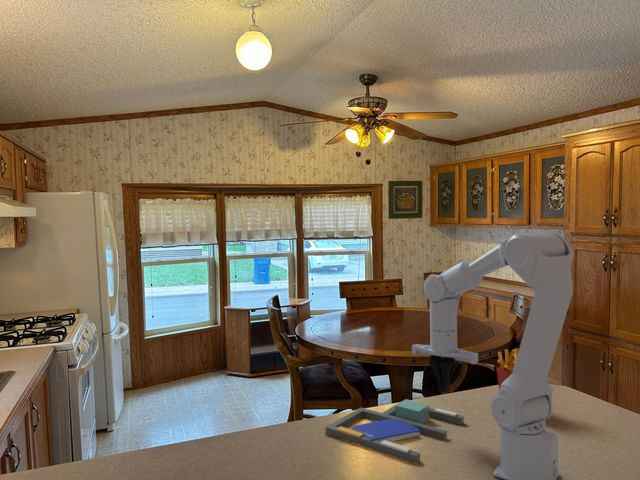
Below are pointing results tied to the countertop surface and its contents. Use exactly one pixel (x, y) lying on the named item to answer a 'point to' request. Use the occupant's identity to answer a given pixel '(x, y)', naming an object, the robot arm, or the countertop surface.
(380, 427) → the blue book
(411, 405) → the teal block
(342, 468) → the countertop surface
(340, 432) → the gray open frame
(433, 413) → the bar
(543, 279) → the robot arm
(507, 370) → the french fries
